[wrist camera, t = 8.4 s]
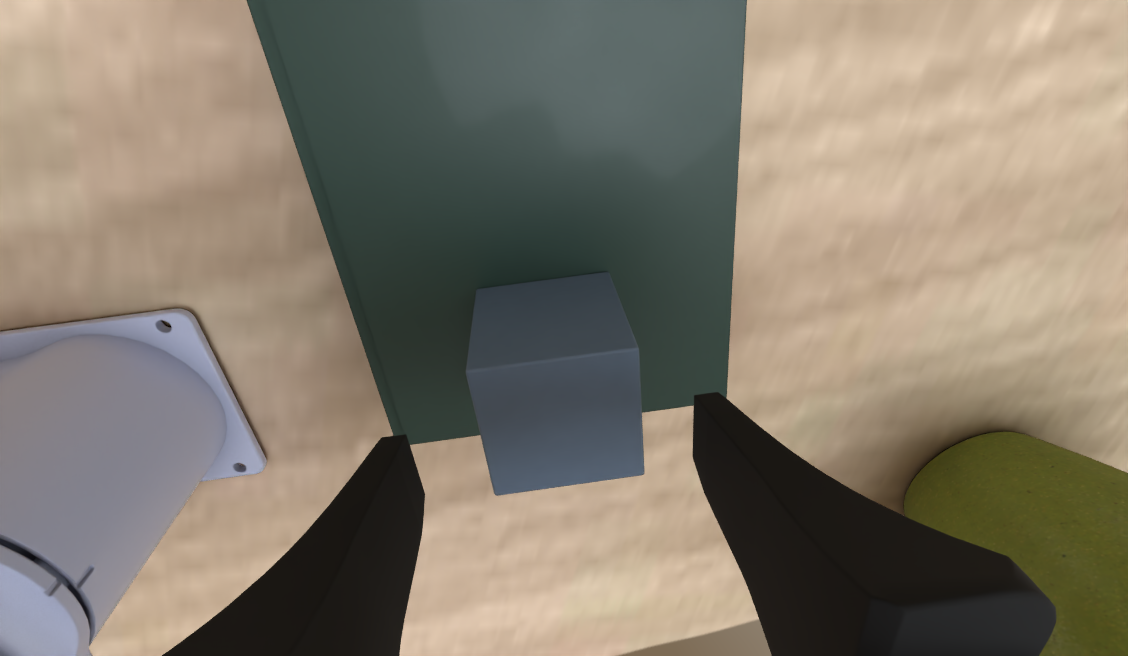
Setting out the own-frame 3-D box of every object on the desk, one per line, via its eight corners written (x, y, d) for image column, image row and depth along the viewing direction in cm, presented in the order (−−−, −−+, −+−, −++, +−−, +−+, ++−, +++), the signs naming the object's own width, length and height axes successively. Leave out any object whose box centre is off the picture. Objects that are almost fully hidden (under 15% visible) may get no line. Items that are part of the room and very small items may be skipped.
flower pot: (1132, 501, 31) (1644, 897, 17) (880, 610, 34) (1137, 1019, 20) (1101, 310, 24) (1908, 707, 10) (791, 468, 27) (1085, 936, 13)
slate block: (498, 396, 21) (494, 497, 16) (475, 288, 18) (464, 371, 14) (616, 380, 21) (645, 475, 16) (608, 270, 18) (639, 347, 14)
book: (407, 407, 23) (397, 446, 21) (281, 2, 16) (245, -1, 14) (706, 366, 24) (726, 401, 22) (718, -51, 16) (750, -62, 14)
